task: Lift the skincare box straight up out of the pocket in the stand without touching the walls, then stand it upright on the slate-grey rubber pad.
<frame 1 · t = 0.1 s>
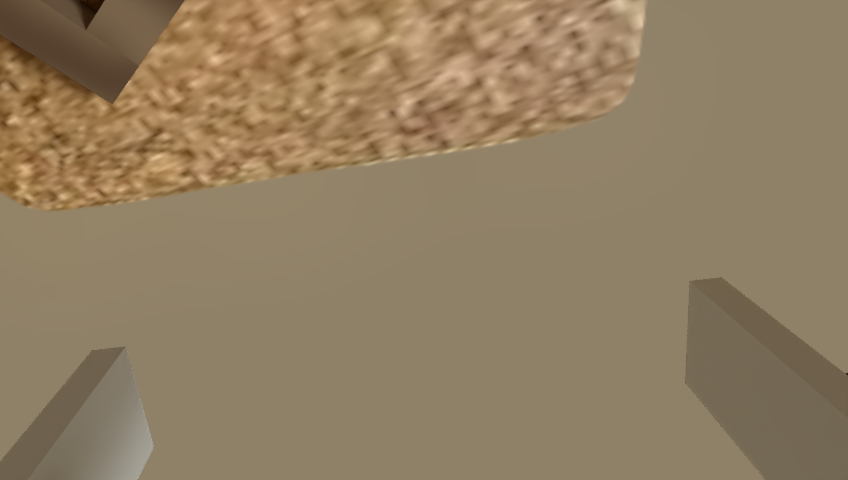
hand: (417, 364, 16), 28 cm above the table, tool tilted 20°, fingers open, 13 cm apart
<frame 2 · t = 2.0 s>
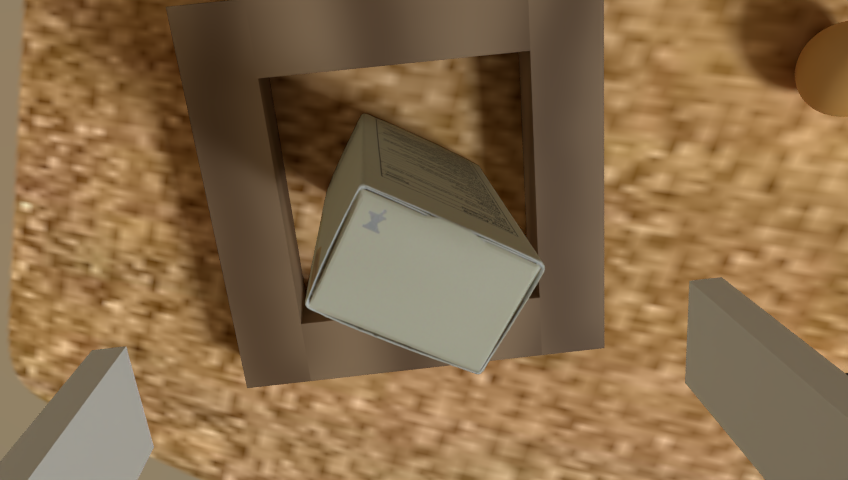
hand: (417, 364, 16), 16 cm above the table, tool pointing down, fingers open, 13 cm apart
skincare box: (406, 179, 31), resting in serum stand
figurine: (835, 48, 30), on the table
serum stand: (406, 181, 31), on the table
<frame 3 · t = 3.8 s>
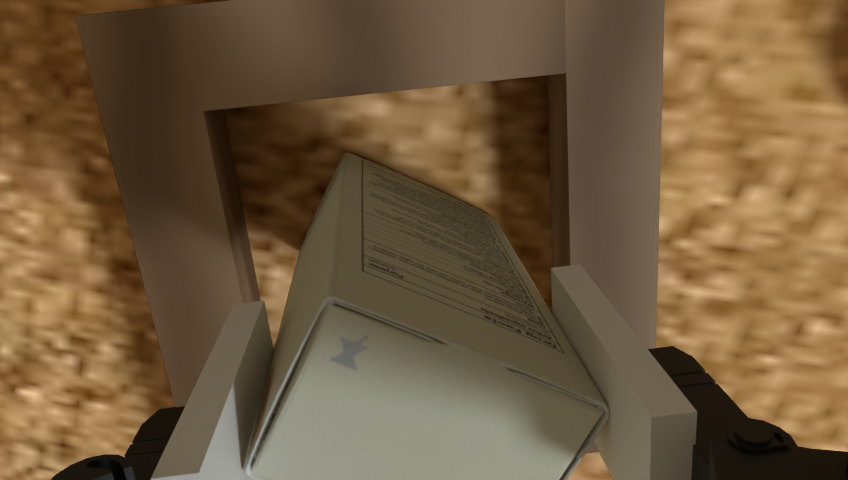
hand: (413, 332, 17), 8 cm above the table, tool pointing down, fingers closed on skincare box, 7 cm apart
skincare box: (402, 234, 24), resting in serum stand, touching gripper
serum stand: (402, 236, 24), on the table
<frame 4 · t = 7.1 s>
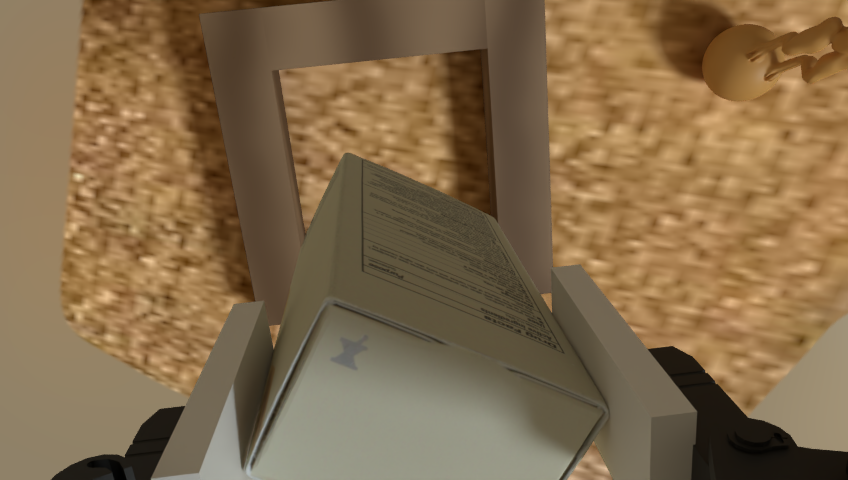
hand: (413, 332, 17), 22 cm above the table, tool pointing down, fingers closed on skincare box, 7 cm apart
skincare box: (402, 235, 24), point 14 cm above the table, touching gripper
figurine: (736, 47, 37), on the table
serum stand: (390, 155, 38), on the table
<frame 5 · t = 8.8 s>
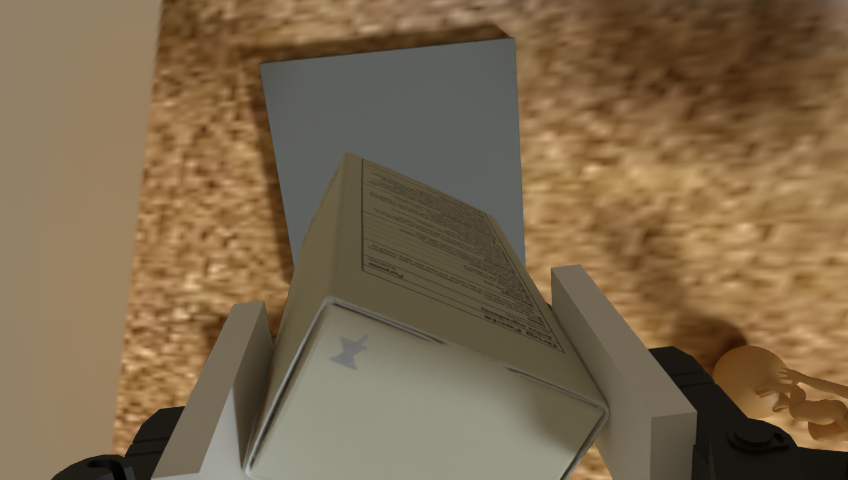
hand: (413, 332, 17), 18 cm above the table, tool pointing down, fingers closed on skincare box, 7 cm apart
skincare box: (402, 234, 24), point 10 cm above the table, touching gripper
slate pad: (400, 171, 34), on the table
figurine: (745, 350, 39), on the table
when the fingers open (10 cm above the table, at t = 10.4 s): skincare box drops 1 cm, resting on slate pad.
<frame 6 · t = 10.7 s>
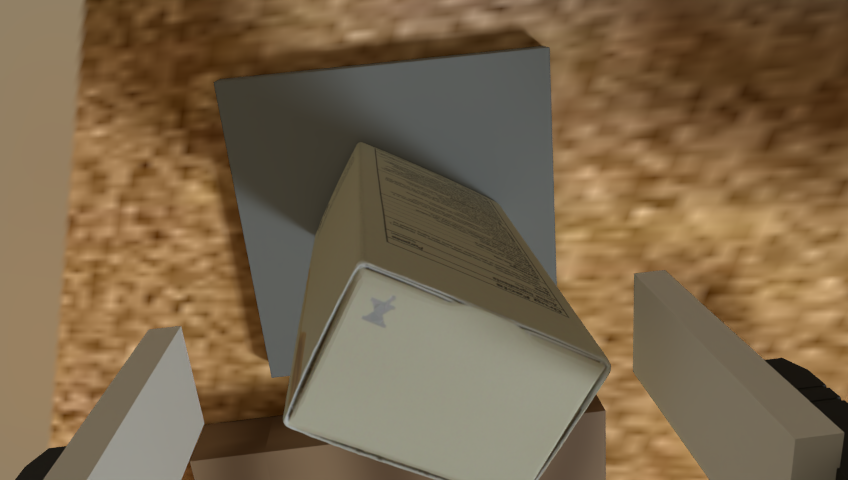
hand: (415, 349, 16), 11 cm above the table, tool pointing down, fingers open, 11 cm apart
skincare box: (411, 220, 26), point 1 cm above the table, touching slate pad
slate pad: (399, 216, 27), on the table
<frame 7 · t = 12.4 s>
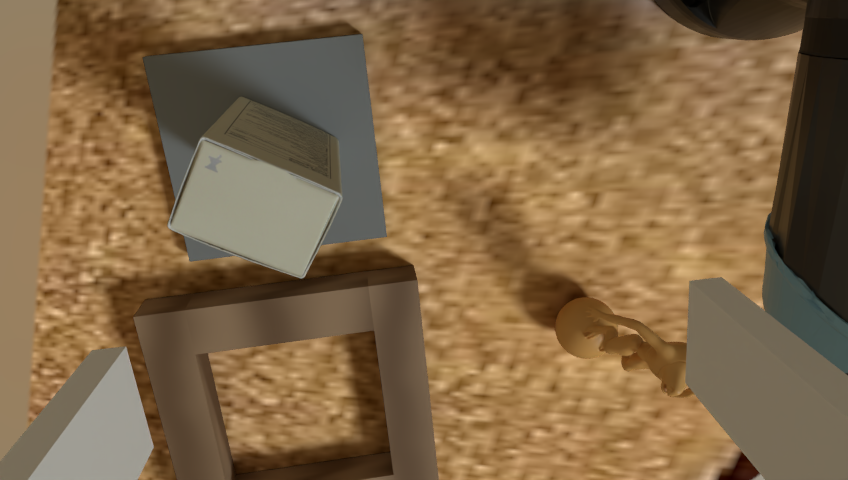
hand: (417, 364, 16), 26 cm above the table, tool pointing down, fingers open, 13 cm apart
skincare box: (280, 150, 39), point 1 cm above the table, touching slate pad
slate pad: (274, 149, 40), on the table
figurine: (586, 303, 45), on the table
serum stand: (302, 396, 45), on the table
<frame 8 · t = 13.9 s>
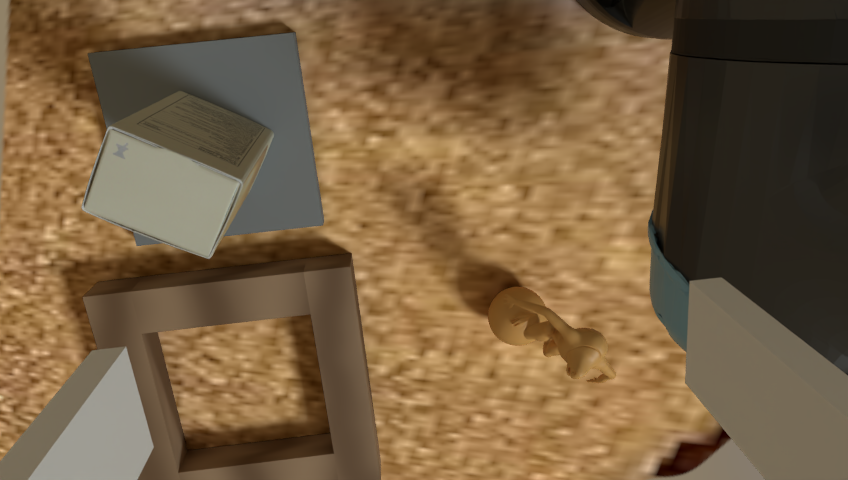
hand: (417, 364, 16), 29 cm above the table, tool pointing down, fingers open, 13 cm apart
skincare box: (219, 142, 41), point 1 cm above the table, touching slate pad
slate pad: (215, 141, 42), on the table
figurine: (521, 293, 47), on the table
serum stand: (248, 377, 48), on the table
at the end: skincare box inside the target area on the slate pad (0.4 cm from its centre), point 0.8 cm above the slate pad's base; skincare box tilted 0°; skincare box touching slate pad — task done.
